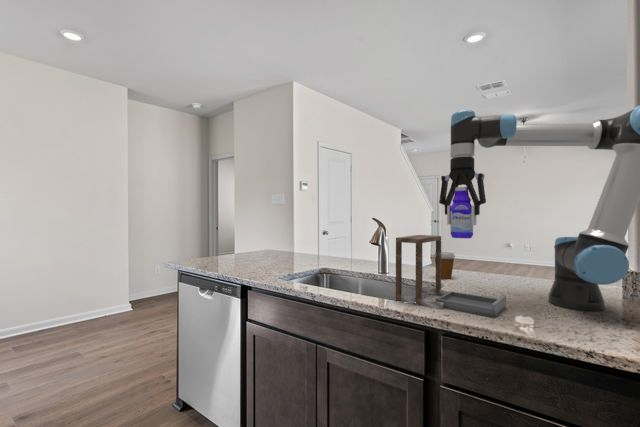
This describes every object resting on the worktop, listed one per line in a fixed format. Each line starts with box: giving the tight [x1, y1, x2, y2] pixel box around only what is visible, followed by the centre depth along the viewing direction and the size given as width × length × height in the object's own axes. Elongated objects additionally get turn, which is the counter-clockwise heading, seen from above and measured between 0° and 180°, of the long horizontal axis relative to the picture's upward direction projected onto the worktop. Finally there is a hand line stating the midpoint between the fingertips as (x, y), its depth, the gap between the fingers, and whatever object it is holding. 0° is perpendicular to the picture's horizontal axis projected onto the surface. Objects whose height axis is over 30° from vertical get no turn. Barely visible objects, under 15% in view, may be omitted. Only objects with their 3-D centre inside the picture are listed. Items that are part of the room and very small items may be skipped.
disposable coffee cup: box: [433, 251, 456, 280], centre depth 154 cm, size 10×10×12 cm
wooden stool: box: [395, 234, 451, 310], centre depth 117 cm, size 16×19×22 cm
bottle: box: [450, 186, 474, 239], centre depth 111 cm, size 7×6×17 cm
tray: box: [435, 290, 507, 319], centre depth 108 cm, size 18×14×4 cm
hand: (461, 224), depth 111 cm, fingers closed on bottle, 7 cm apart
